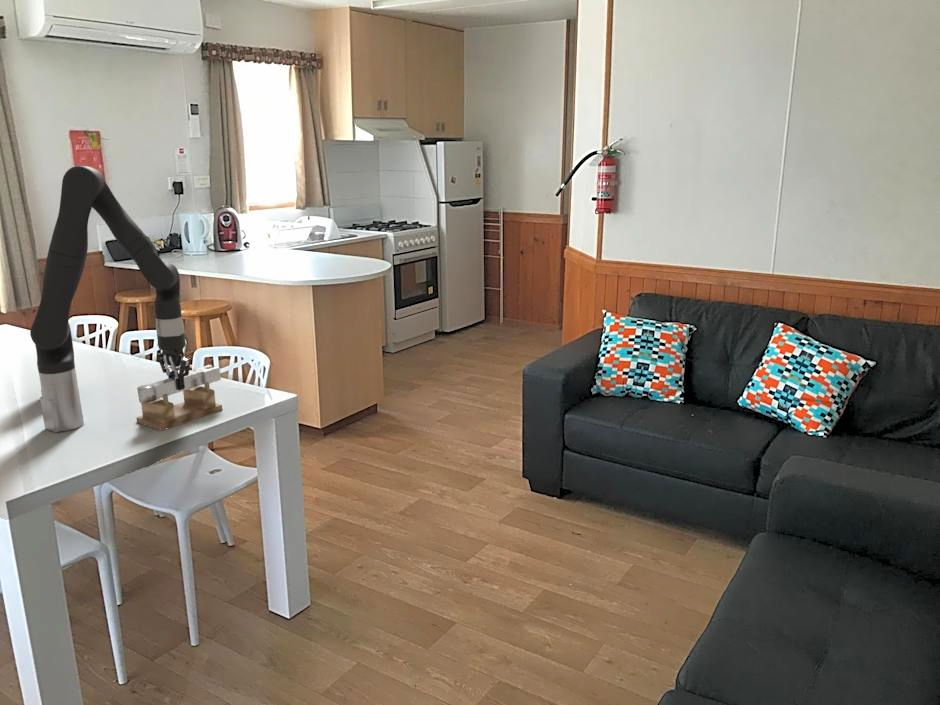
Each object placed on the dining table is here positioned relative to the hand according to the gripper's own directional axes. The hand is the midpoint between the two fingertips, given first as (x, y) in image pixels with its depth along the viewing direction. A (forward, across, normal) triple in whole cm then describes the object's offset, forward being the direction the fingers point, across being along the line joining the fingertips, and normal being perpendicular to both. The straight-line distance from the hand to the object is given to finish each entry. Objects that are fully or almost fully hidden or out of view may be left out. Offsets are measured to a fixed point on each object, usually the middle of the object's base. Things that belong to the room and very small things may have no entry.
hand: (177, 388), depth 224 cm
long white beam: (+1, 0, 0) cm, 1 cm away
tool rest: (+9, 0, 0) cm, 9 cm away
